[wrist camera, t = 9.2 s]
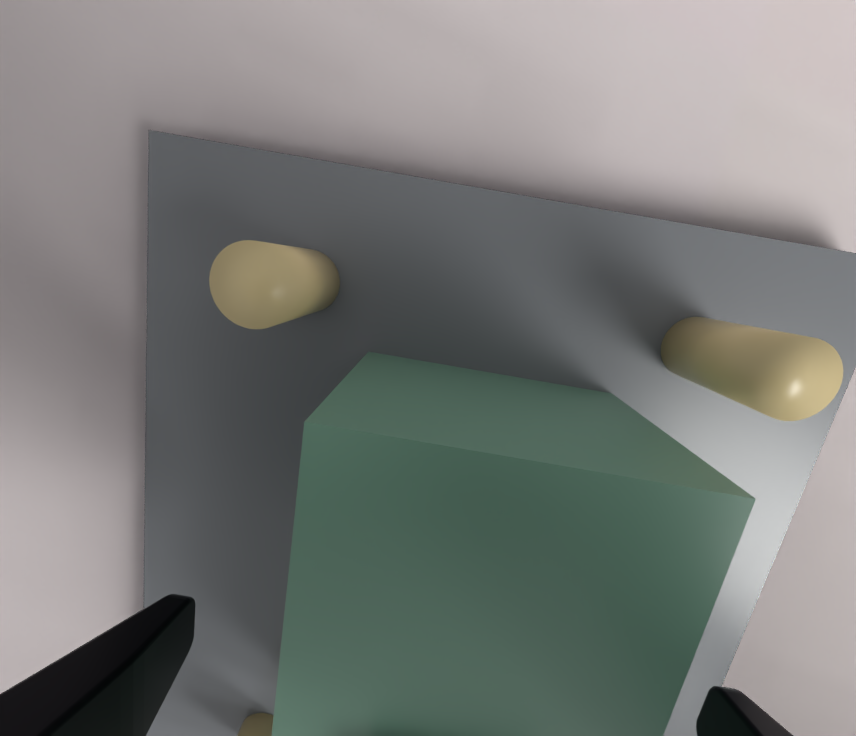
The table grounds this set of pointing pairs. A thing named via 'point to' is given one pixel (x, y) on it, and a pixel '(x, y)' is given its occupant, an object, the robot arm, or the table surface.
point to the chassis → (450, 345)
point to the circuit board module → (494, 560)
